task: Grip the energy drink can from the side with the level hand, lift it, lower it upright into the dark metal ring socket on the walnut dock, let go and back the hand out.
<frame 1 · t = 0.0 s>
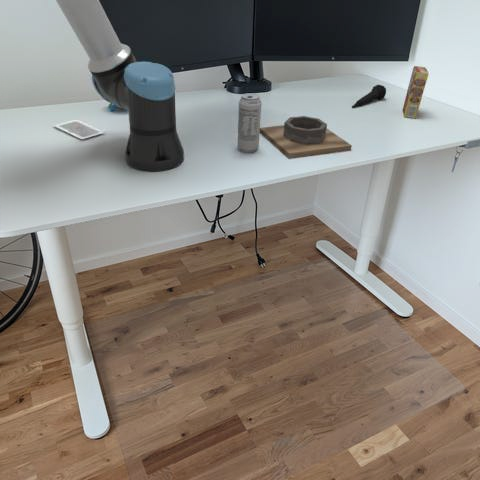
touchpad: (79, 133, 136), on the table
can dock: (303, 141, 136), on the table
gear: (120, 110, 153), on the table
microphone: (365, 103, 171), on the table
energy drink can: (247, 149, 130), on the table
candy box: (409, 114, 161), on the table
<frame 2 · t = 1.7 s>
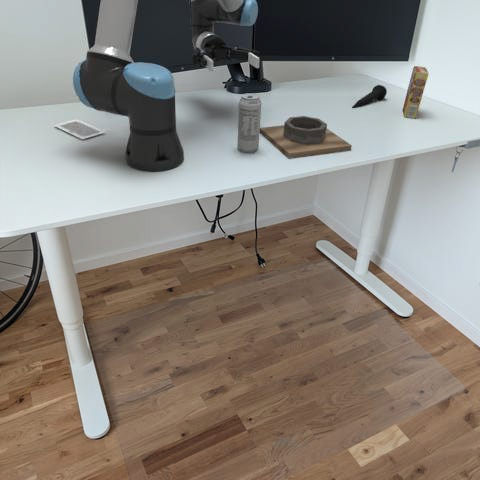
hand: (235, 64, 127), 20 cm above the table, tool horizontal, fingers open, 13 cm apart
nothing on the table moved.
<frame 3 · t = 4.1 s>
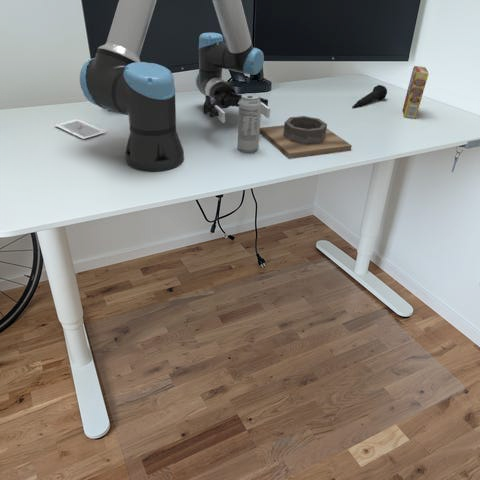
hand: (246, 115, 128), 8 cm above the table, tool horizontal, fingers open, 13 cm apart
nothing on the table moved.
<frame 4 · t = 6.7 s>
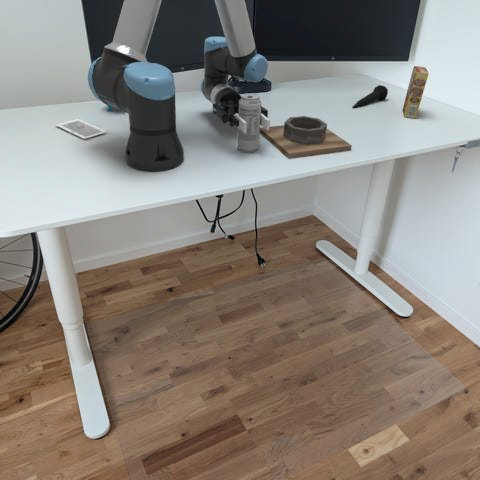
hand: (256, 126, 121), 9 cm above the table, tool horizontal, fingers closed on energy drink can, 6 cm apart
energy drink can: (247, 149, 130), on the table, touching gripper
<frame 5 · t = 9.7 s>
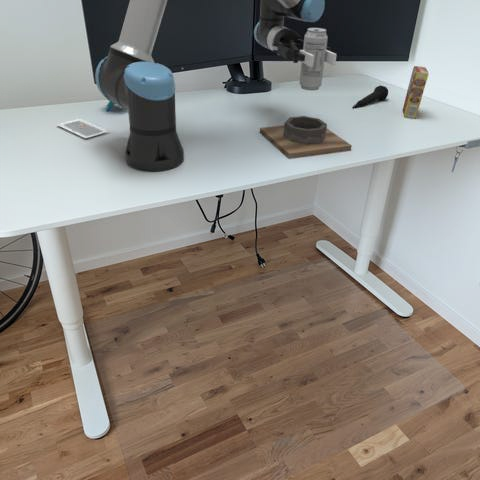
hand: (323, 60, 119), 24 cm above the table, tool horizontal, fingers closed on energy drink can, 6 cm apart
energy drink can: (309, 88, 128), point 15 cm above the table, touching gripper
when the fingers open (11 cm above the table, at t = 12.9 s): energy drink can stays where it is, resting on can dock.
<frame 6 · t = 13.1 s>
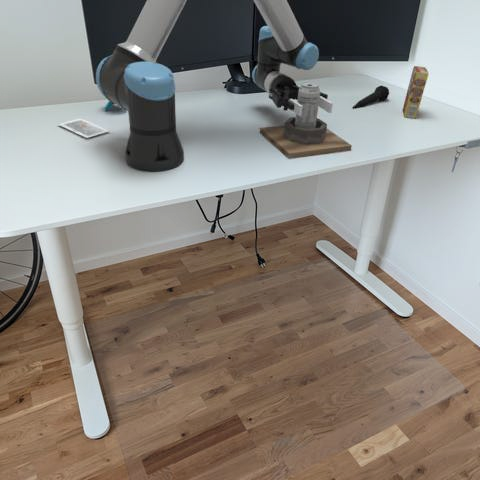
hand: (316, 109, 126), 11 cm above the table, tool horizontal, fingers open, 9 cm apart
energy drink can: (303, 136, 135), point 1 cm above the table, touching can dock
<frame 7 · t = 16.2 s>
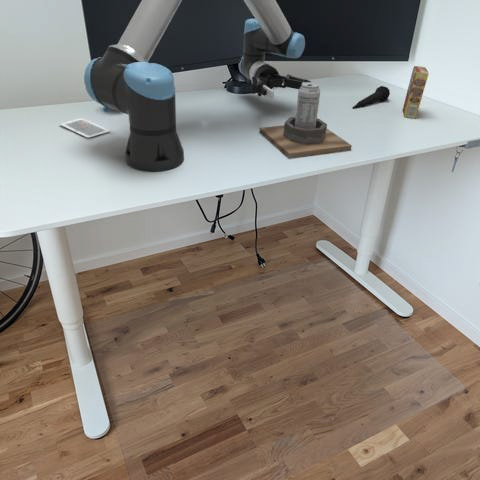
hand: (293, 94, 137), 11 cm above the table, tool horizontal, fingers open, 13 cm apart
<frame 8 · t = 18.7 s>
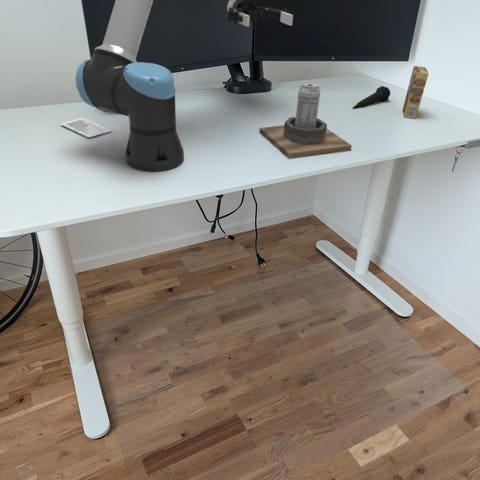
hand: (270, 20, 131), 30 cm above the table, tool horizontal, fingers open, 13 cm apart
at the end: energy drink can 0.1 cm off-centre on the can dock, point 1.3 cm above the can dock's base; energy drink can tilted 0°; the gripper is holding nothing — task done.
